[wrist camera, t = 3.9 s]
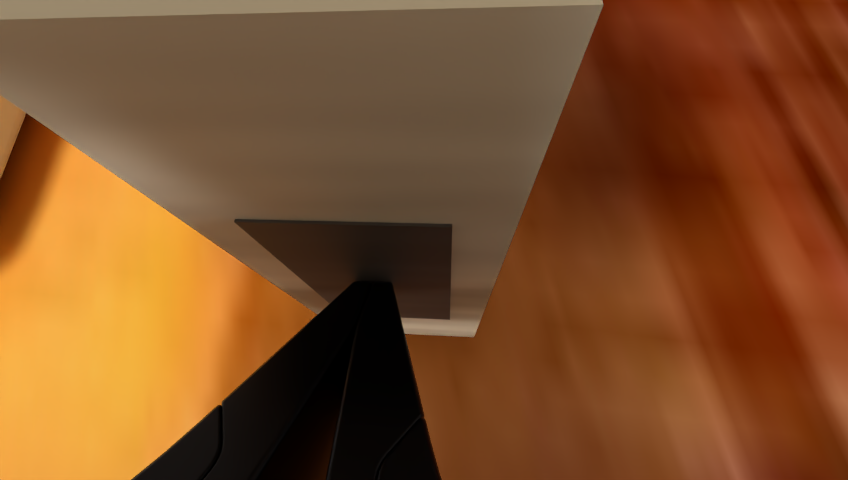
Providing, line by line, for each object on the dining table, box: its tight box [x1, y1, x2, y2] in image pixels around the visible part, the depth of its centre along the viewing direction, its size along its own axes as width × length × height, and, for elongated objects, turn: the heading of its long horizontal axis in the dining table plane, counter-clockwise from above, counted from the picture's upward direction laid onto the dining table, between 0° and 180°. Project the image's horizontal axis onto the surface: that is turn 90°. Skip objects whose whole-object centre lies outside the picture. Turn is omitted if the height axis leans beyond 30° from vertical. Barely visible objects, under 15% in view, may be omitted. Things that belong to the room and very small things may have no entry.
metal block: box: [0, 0, 603, 337], centre depth 9 cm, size 5×5×12 cm
